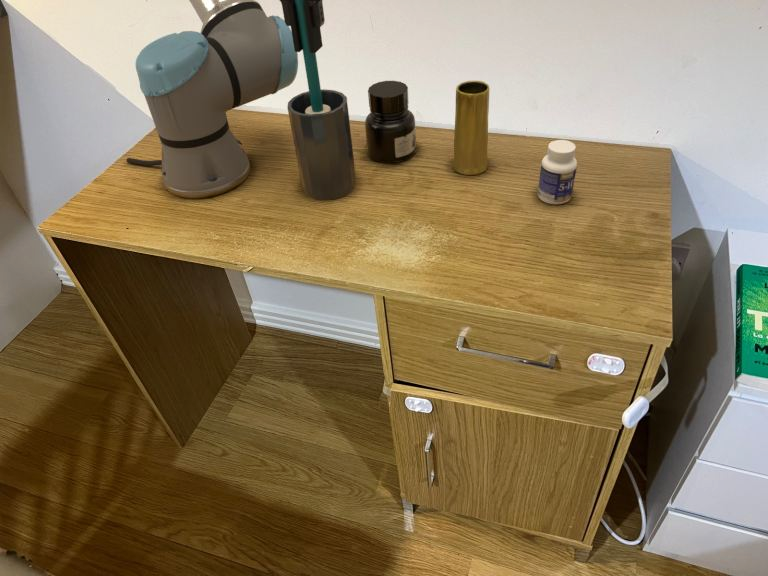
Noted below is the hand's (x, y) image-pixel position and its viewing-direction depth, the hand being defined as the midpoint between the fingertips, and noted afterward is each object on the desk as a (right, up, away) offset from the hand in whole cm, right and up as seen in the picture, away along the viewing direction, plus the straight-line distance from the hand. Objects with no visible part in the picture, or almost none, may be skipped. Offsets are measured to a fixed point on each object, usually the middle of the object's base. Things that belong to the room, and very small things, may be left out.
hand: (308, 48), depth 86 cm
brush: (+1, -12, +11) cm, 16 cm away
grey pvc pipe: (+2, -17, +15) cm, 23 cm away
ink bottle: (+12, -10, +23) cm, 28 cm away
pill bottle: (+38, -20, +9) cm, 44 cm away
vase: (+26, -14, +17) cm, 34 cm away
